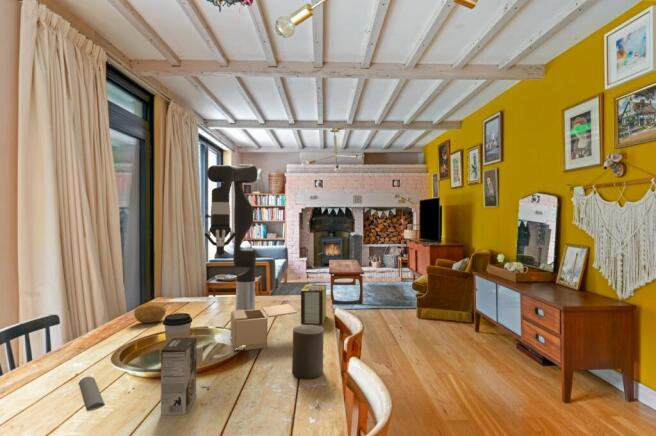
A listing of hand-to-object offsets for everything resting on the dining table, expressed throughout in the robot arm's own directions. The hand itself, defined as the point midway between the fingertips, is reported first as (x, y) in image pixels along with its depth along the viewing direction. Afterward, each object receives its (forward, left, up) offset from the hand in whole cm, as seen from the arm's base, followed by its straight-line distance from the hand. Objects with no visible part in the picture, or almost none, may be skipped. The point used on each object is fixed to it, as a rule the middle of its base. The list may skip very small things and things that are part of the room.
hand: (220, 255), depth 147 cm
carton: (+13, +10, -33) cm, 37 cm away
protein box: (-10, +44, -33) cm, 56 cm away
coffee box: (+54, -13, -33) cm, 65 cm away
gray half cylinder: (+39, -36, -34) cm, 63 cm away
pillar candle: (+46, +24, -33) cm, 62 cm away
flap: (+13, +16, -22) cm, 30 cm away
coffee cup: (+22, -15, -33) cm, 43 cm away
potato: (-30, -29, -33) cm, 53 cm away
